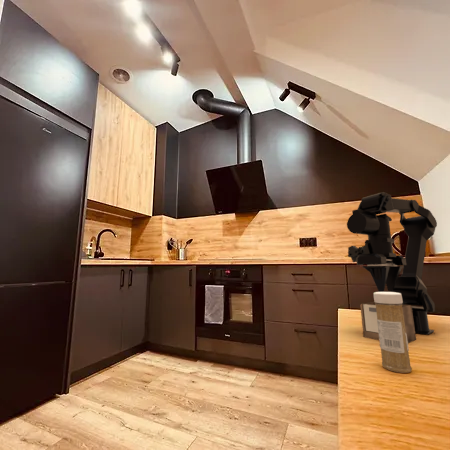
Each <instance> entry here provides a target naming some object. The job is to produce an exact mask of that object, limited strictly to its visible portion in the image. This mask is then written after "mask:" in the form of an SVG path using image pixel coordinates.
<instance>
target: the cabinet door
mask: <svg viewBox="0 0 450 450" xmlns="http://www.w3.org/2000/svg"><path fill="white" fill-rule="evenodd" d="M362 304H363V306H364V316H365V325H366V331H371V332H377V333H379V332H378V323H377V311H376V305H367V304H365V303H362Z"/></svg>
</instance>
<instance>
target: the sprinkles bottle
mask: <svg viewBox="0 0 450 450" xmlns="http://www.w3.org/2000/svg"><path fill="white" fill-rule="evenodd" d="M373 300H374V301H373V302H375V305H376V311H377V323H378V332H379V347H380V353H381V354H380V355H381V366H382V367H383V368H384V369H385V370H388V371H391V372H393V373H398V374H399V373H402V374H407V373H411V372H412V370H413V369H412V368H413V367H412V366H411V360H410V355H409V354H410V350H409V343H408V341H407V334H406V331H405V323H404V316H403V310H402V303H403V300H402V295H401V293H396V292H391V291H384V292H379V291H375V292H373Z"/></svg>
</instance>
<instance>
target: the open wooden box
mask: <svg viewBox="0 0 450 450" xmlns="http://www.w3.org/2000/svg"><path fill="white" fill-rule="evenodd" d="M363 304H367V305H375V302H374V301H372V302H366V303H361V304H360V305H359V306H360V314H361V315H360V317H361V324H362V327H361V328H362V335H363V338H369V339H373V340H379V333H377V332H371V331H366V325H365V316H364V306H363ZM412 306H413V305H406V304H405V305H402V310H403V316H404V323H405V331H406V334H407V341H408V344H410V343H412V342H414V341H416V340H417V335H416V333H415V327H414V320H413V313H412Z"/></svg>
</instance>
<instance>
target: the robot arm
mask: <svg viewBox="0 0 450 450" xmlns="http://www.w3.org/2000/svg"><path fill="white" fill-rule="evenodd" d="M359 202H360V203H359V205H358V207H357V208H356V209H353V210H352V213H351V215H350V216H349V218H348V219H347V223H346V227H347V229H348V231H349V232H350V233H352V234H354V235H355V234H356V235H365V236H367V239H365V241H364V245H363V246H358V247H357V246H356V245H351V246H349V247H347V258H351V261H352V263H356V266H357V265H358V266H361V265H362V266H361V267H362V268H363V269H365V270H366V271H368V272H369V273H370V276H371V277H372V279H373V282H374V284H375V286H376V288H377V290H378V291H377V292H385V288H386V289H387V292H396V293H401V295H402V300H403V303H402V305H411V306H412V313H413V320H414V327H415V334H420V335H430V334H432V333H434V332H435V329H431V328H430V325H429V319H428V313H429V312H430V313H434V312H435V311H436V309H435V308H436V305H435V301H433V299H432V297H431V296H430V295H429V293H428V288H427V286H426V285H425V284H424V282H423V280H422V276H423V271H424V263H425V262H424V261H425V255H426V247H427V242H428V240H430V239H431V237H432V238H433V236H434V235H435V232H436V228H437V225H438V223H437V222H438V221H437V220H436V217H435V216H434V215H433V213H432V211H431V209H430V210H429V209H428V208H426V207H424V206H422V205H420V204H419V203H418V201H417V200H416V199H402V198H393V197H392V195H391V194H389V193H387V192H384V191H383V192H378V193H375V194H370V195H368V196H365V197H362V198H361V200H360V201H359ZM387 213H398V214H399V215H400V217H399V218H400V219H399V224H400V225H401V226H402V228H403V231H404V232H405V234H406V235H407V236H408V238H407V244H406V250H405V253H404V254H405V255H404V256H403V255H397V253H396V252H395V253H394V247H393V244H394V243H395V238H392V234H391V227H390V222H392V221H393V219H392V218H391V217H390V216H389V215H388V214H387ZM406 213H415V214H416V215H417V216H412V217H407V218H406V217H405V214H406ZM364 265H365V266H364ZM401 271H402V273H401ZM400 274H401V275H400Z"/></svg>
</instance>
